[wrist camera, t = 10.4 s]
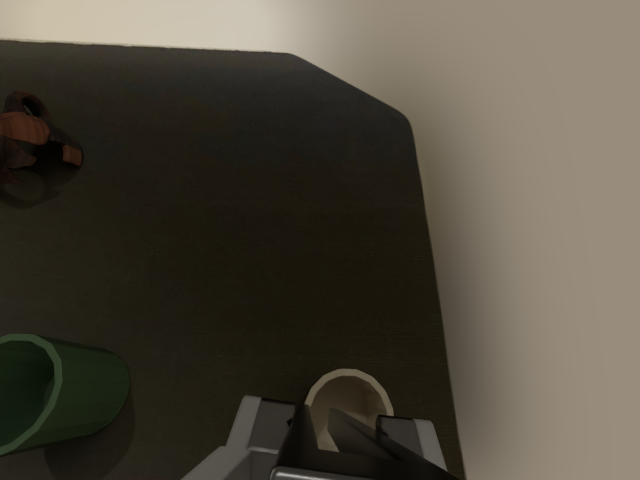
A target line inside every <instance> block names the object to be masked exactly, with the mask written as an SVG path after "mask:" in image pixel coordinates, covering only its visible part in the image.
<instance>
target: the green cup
mask: <svg viewBox="0 0 640 480" xmlns="http://www.w3.org/2000/svg"><path fill="white" fill-rule="evenodd" d="M129 384H130V379H129V372H128V369H127V366H126V364H125V363H124V361H123V360H122V359H121V358H120V357H119V356H118V355H117V354H115V353H114V352H111V351H109V350H106V349H103V348H99V347H94V346H89V345H84V344H79V343H74V342H69V341H64V340H59V339H54V338H50V337H45V336H40V335H35V334H9V335H6V336H3V337H0V457H4V456H8V455H13V454H17V453H22V452H26V451H30V450H35V449H39V448H44V447H48V446H53V445H57V444H61V443H66V442H70V441H75V440H79V439H81V438H84V437H88V436H91V435H93V434H95V433H97V432H99V431H100V430H102V429H103V428H105V427H106V426H107V425H108V424H109V423H111V422H112V421H113V420H114V418H115V417H116V416H117V415H118V413H119V412H120V410H121V409H122V407H123V405H124V403H125V401H126V398H127V395H128V391H129Z"/></svg>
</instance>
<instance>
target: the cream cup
mask: <svg viewBox="0 0 640 480" xmlns="http://www.w3.org/2000/svg"><path fill="white" fill-rule="evenodd" d="M303 404H308V405H309V407H310V411H311V416H312V420H313V425H314V430H315V434H316V439H317V443H318V448H319V449H322V450H329V451H336V452H339V450H338V449H337V447H336V445H335V443H334V441H333V439H332V437H331V436H330V434H329V432H328V430H327V426H328V416H329V408H336V409H339V410H341V411H343V412H345V413H346V414H348V415H350V416H352V417H353V418H355V419H357V420H359V421H360V422H362V423H364V424H366V425H367V426H369V427H371V428H372V429H374V430H376V428H375V422H376V418H377V416H378V414H381V415H389V416H393V408H392V405H391V403H390V400H389V398H388V396H387V393H386V391H385V390H384V389H383V387H382V386H381V385H380V384H379V383H378V382H377V381H376V380H375V379H374V378H373V377H372V376H370V375H368V374H366V373H364V372H361V371H359V370H356V369H337V370H335V371H333V372H330V373H328V374H325V375H323V376H322V377H320V378H319V379H318V380H317V381H316V382H315V383H314V384H313V385H312V386H311V387H310V388H309V389H308V392H307V394H306V396H305V399H304V401H303Z"/></svg>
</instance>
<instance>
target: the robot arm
mask: <svg viewBox="0 0 640 480" xmlns="http://www.w3.org/2000/svg"><path fill="white" fill-rule="evenodd" d="M294 413H295V403H292V402H286V401H280V400H274V399H268V398H260V397H254V396H248V395H245V396H244V397H243V399H242V401H241V404H240V407H239V410H238V413H237V415H236V418H235V421H234V424H233V427H232V429H231V432H230V435H229V438H228V440H227V443H226V446H219V447H218V448H217V449H216V450H215V451H214V452H212V453H211V454H210V455H209V456H208V457H207V458H205V459H204V460H203V461H202V462H201V463H200V464H198V465H197V466H196V467H195V468H194V469H193V470H191V471H190V472H189V473H188V474H187V475H186V476H184V477H183V478H182V479H181V480H268V479H269V473H270V471H271V469H272V466H273V464H274V462H275V460H276V457H277V455H278V451H279V449H280V447H281V445H282V442H283V440H284V438H285V436H286V434H287V431H288V429H289V427H290V425H291V423H292V421H293V419H294ZM375 428H376V431H378V432H379V433H381V434H383V435H385V436H386V437H388V438H390V439H392V440H393V441H395V442H397V443H399V444H400V445H402V446H404V447H406V448H407V449H409V450H411V451H413V452H414V453H416V454H418V455H420V456H421V457H423V458H425V459H427V460H428V461H430V462H432V463H434V464H435V465H437V466H439V467H441V468H442V469H444V470H446V471H447V468H446V465H445V462H444V458H443V455H442V452H441V449H440V445H439V442H438V439H437V436H436V432H435V429H434V426H433V424H432V422H431V421H427V420H419V419H412V418H405V417H397V416H389V415H381V414H378V416H377V418H376V422H375ZM447 472H448V471H447Z"/></svg>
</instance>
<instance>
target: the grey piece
mask: <svg viewBox="0 0 640 480" xmlns="http://www.w3.org/2000/svg"><path fill="white" fill-rule="evenodd" d="M327 430H328V432H329V434H330V436H331V437H332V439H333V441H334V443H335V445H336V447H337V449H338V450H339V452H336V451H329V450H322V449H319V448H318V443H317V439H316V434H315V430H314V425H313V420H312V416H311V411H310V407H309V405H308V404H300V405H299V407H298V409H297V411H296V414H295V416H294V419H293V421H292V423H291V425H290V427H289V429H288V431H287V434H286V436H285V438H284V440H283V442H282V445H281V447H280V449H279V451H278V455H277V457H276V460H275V462H274V464H273V466H272V469H271V471H270V473H269V479H268V480H460V479H458V478H457V477H455V476H453V475H451V474H450V473H448V472H447V471H446V470H444V469H442V468H441V467H439V466H437V465H435V464H434V463H432V462H430V461H428V460H427V459H425V458H423V457H421V456H420V455H418V454H416V453H414V452H413V451H411V450H409V449H407V448H406V447H404V446H402V445H400V444H399V443H397V442H395V441H393V440H392V439H390V438H388V437H386V436H385V435H383V434H381V433H379V432H378V431H376V430H374V429H372V428H371V427H369V426H367V425H366V424H364V423H362V422H360V421H359V420H357V419H355V418H353V417H352V416H350V415H348V414H346V413H345V412H343V411H341V410H339V409H336V408H329V416H328V426H327Z"/></svg>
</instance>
